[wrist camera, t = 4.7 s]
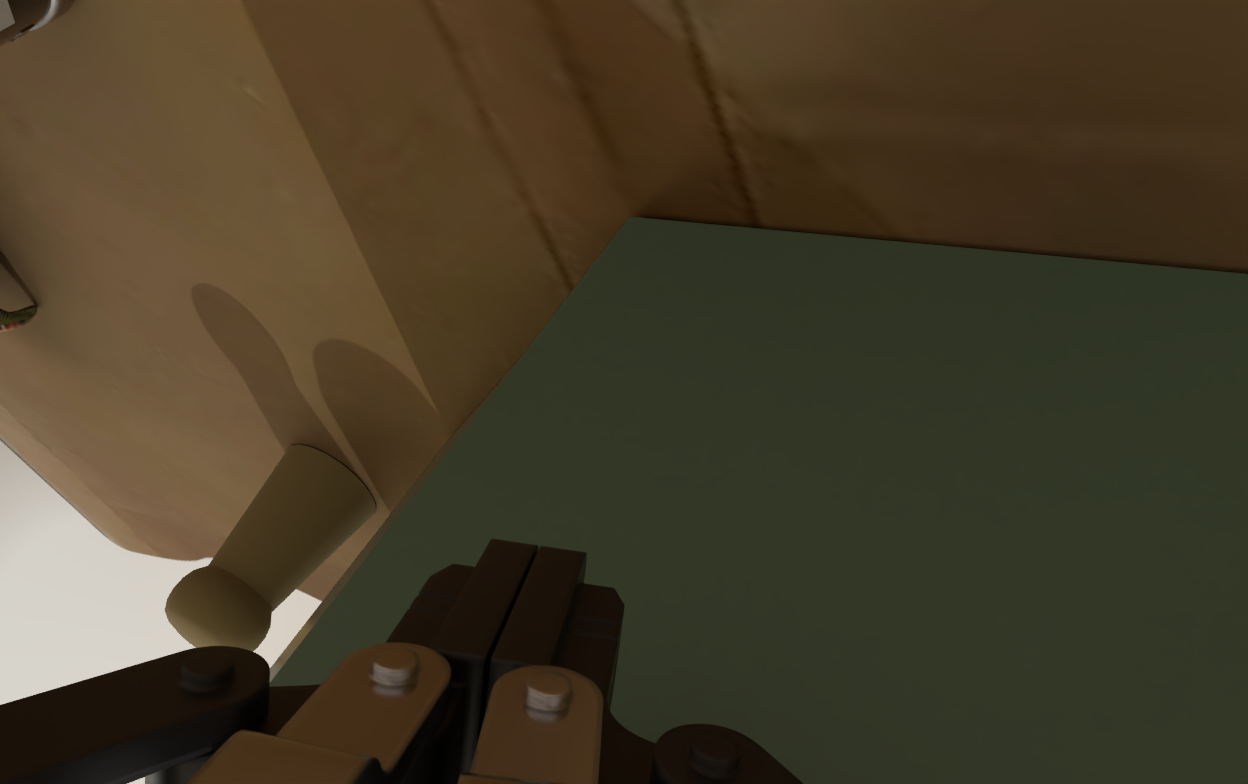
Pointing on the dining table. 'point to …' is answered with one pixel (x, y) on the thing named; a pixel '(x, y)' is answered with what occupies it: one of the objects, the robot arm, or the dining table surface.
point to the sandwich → (16, 318)
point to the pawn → (270, 550)
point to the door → (876, 504)
